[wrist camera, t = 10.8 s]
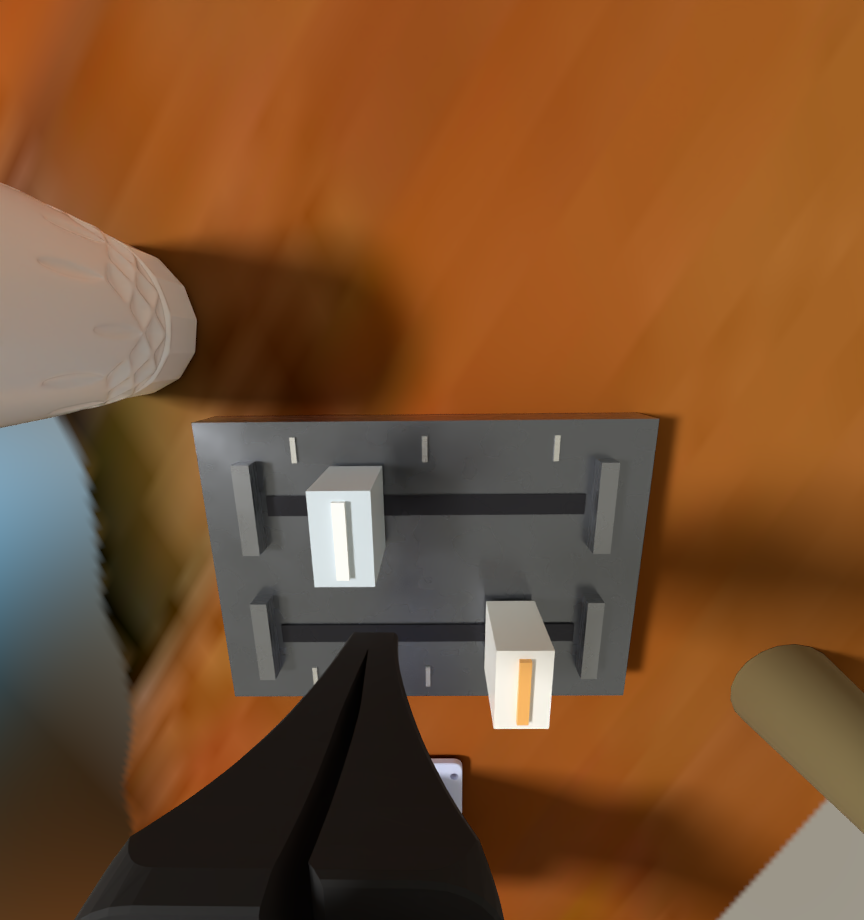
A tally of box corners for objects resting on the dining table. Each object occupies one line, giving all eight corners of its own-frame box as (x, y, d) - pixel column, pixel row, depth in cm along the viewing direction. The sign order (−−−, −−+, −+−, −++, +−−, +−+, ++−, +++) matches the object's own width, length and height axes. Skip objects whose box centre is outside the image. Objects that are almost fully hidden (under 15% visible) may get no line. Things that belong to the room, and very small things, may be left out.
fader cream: (530, 668, 21) (550, 732, 17) (484, 668, 21) (494, 732, 17) (534, 600, 20) (556, 654, 16) (486, 601, 20) (497, 654, 16)
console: (607, 667, 24) (630, 707, 21) (251, 668, 24) (227, 708, 21) (637, 412, 20) (669, 421, 17) (214, 416, 20) (180, 425, 17)
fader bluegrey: (385, 546, 19) (374, 589, 16) (335, 546, 19) (313, 590, 16) (382, 465, 18) (369, 492, 15) (329, 466, 18) (303, 493, 15)
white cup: (143, 195, 18) (-205, 1, 8) (244, 359, 19) (55, 362, 10) (7, 283, 19) (-453, 205, 9) (114, 432, 20) (-175, 501, 11)
